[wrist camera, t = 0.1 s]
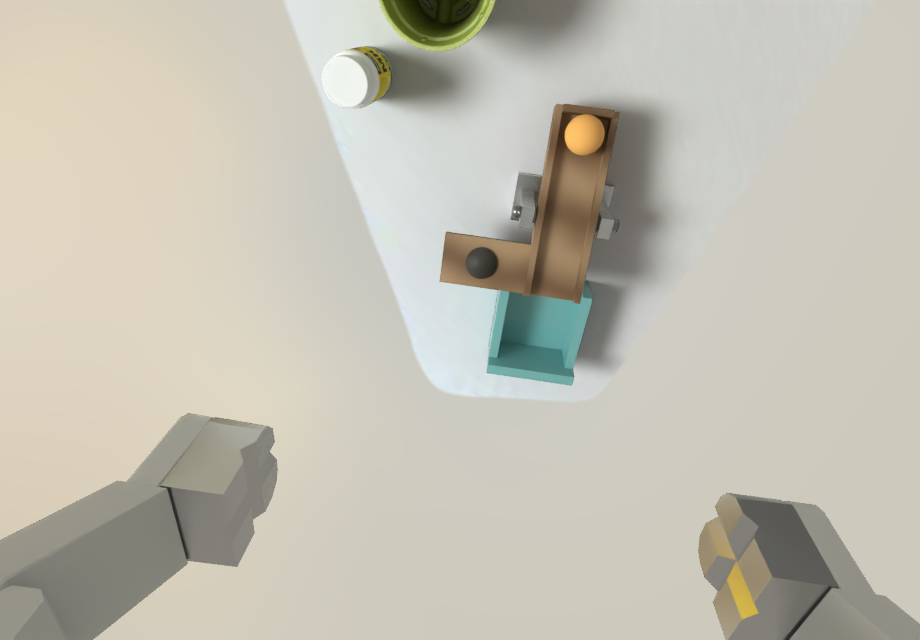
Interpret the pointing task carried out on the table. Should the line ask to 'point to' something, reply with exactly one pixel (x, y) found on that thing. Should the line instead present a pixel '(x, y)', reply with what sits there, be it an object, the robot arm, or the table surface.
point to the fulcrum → (528, 203)
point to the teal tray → (537, 336)
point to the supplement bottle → (357, 77)
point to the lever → (544, 224)
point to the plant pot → (436, 21)
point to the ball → (584, 134)
